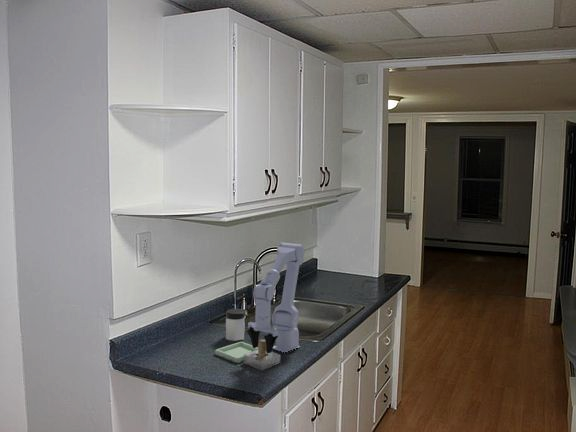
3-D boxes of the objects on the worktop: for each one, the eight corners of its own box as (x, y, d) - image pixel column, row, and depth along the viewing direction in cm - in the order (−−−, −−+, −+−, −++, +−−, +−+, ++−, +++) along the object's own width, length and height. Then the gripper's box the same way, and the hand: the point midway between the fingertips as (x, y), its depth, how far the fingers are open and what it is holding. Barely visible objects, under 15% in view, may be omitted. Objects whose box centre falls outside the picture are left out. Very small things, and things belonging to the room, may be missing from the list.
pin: (261, 361, 219) (262, 339, 218) (267, 363, 217) (267, 341, 216) (256, 363, 216) (256, 340, 215) (261, 365, 214) (262, 342, 213)
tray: (241, 346, 235) (241, 341, 235) (263, 354, 226) (263, 349, 226) (215, 354, 225) (215, 349, 224) (237, 363, 216) (237, 358, 216)
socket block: (262, 356, 224) (262, 348, 223) (280, 363, 217) (280, 354, 216) (243, 363, 216) (243, 354, 216) (261, 370, 210) (261, 361, 209)
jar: (244, 341, 241) (244, 314, 239) (225, 341, 240) (225, 314, 239) (244, 334, 250) (245, 308, 248) (226, 334, 249) (226, 308, 248)
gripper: (242, 313, 216) (241, 347, 218) (268, 322, 206) (268, 357, 208) (255, 310, 221) (254, 343, 223) (282, 318, 212) (281, 352, 213)
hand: (262, 349), depth 216 cm, fingers open, 7 cm apart
